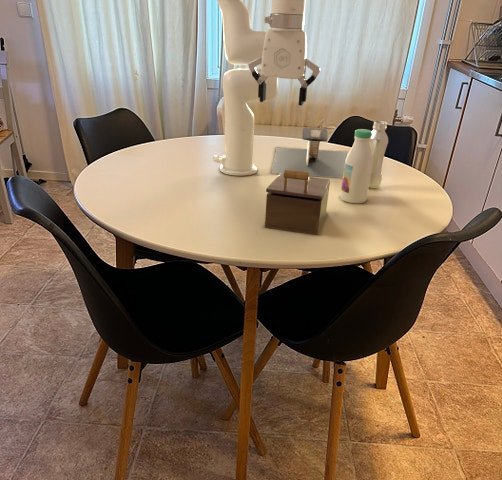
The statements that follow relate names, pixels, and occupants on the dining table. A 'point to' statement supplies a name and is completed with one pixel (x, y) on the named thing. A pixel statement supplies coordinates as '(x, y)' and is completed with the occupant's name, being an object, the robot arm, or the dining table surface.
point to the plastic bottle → (377, 152)
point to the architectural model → (311, 157)
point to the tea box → (295, 212)
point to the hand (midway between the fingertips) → (281, 102)
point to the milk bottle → (357, 169)
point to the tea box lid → (299, 184)
